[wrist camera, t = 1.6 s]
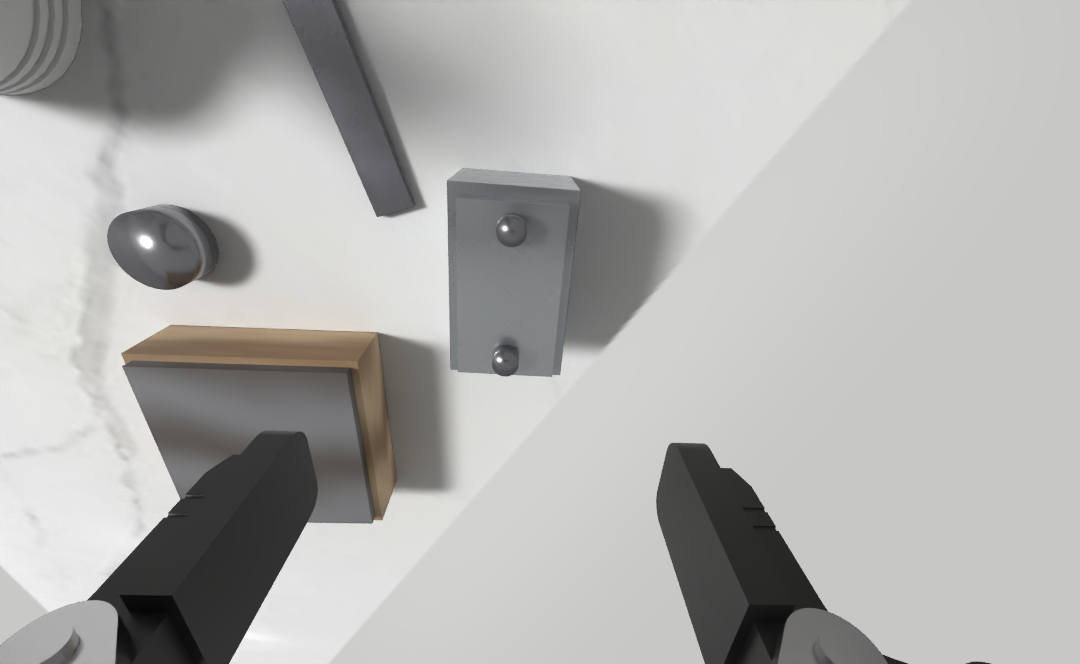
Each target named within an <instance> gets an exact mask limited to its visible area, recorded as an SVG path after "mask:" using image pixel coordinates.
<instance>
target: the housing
mask: <svg viewBox="0 0 1080 664" xmlns="http://www.w3.org/2000/svg"><path fill="white" fill-rule="evenodd" d="M580 194H581V190H580V189H579V187H578V186H577V185H576V183H575V182H574V180H573V179H572V178H571V176H559V175H546V174H533V173H521V172H508V171H495V170H482V169H469V168H463V169H461V170H460V171H459V172H457V173H456V174H455V175H453V176H452V177H451V178H450V179H448V180H447V204H448V257H449V310H450V363H451V369H452V370H458V372H468V373H488V374H498V375H501V376H510V375H527V376H546V377H552V375H560V371H561V362H562V353H563V344H564V336H565V327H566V318H567V309H568V300H569V291H570V283H571V274H572V265H573V256H574V247H575V238H576V230H577V221H578V212H579V203H580Z"/></svg>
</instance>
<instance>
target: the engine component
mask: <svg viewBox="0 0 1080 664" xmlns="http://www.w3.org/2000/svg"><path fill="white" fill-rule="evenodd" d="M81 30H82V13H81V0H0V94H6V95H19V94H26V93H33V92H35V91H38V90H40V89H43V88H45V87H48V86H50V85H51V84H53V83H54V82H55V81H56V80H57V79H59V78H60V77H61V76H62V75H64V74H65V72H66V71H67V69H68V67H69V66H70V64H71V63H72V61H73V60H74V58H75V56H76V52H77V49H78V46H79V43H80V37H81Z"/></svg>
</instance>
